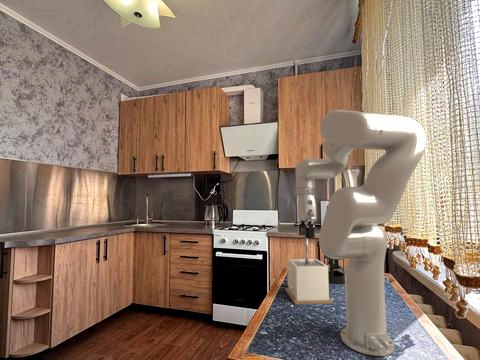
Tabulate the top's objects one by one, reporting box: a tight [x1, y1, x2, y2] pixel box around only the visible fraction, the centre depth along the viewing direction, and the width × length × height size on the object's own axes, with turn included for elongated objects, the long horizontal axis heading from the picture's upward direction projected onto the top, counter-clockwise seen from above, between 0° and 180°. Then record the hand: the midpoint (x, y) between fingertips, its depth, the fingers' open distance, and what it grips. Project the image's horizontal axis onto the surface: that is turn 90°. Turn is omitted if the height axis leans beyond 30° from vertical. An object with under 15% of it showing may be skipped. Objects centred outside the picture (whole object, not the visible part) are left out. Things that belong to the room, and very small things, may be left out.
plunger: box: [292, 228, 322, 266], centre depth 100 cm, size 10×10×15 cm
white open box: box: [285, 258, 334, 305], centre depth 99 cm, size 14×14×13 cm
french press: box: [323, 254, 345, 285], centre depth 118 cm, size 12×9×23 cm
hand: (306, 236), depth 100 cm, fingers open, 8 cm apart
